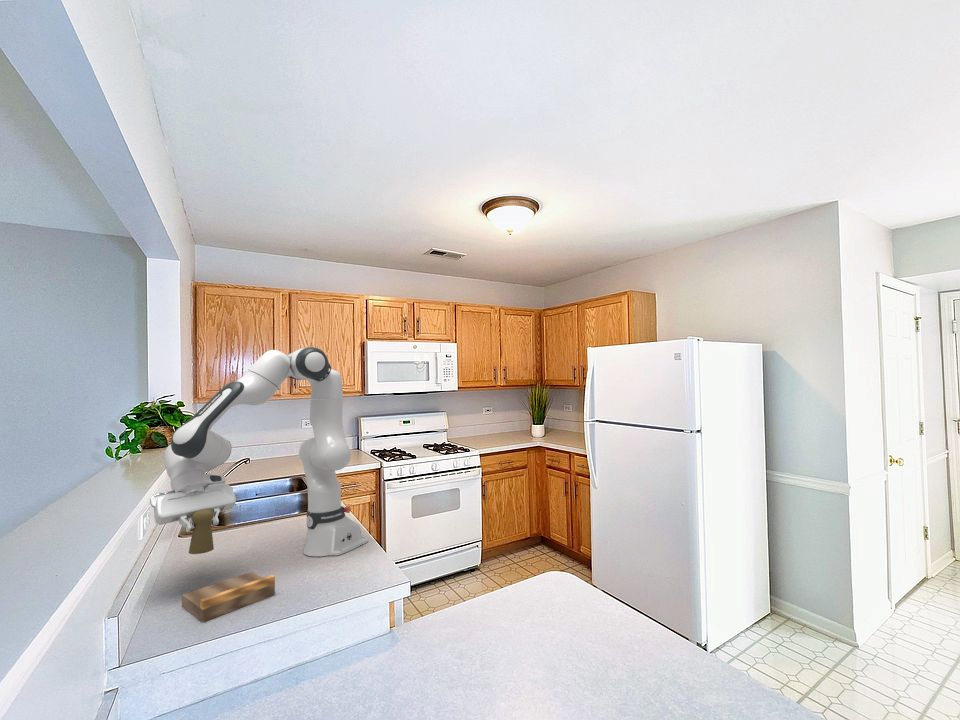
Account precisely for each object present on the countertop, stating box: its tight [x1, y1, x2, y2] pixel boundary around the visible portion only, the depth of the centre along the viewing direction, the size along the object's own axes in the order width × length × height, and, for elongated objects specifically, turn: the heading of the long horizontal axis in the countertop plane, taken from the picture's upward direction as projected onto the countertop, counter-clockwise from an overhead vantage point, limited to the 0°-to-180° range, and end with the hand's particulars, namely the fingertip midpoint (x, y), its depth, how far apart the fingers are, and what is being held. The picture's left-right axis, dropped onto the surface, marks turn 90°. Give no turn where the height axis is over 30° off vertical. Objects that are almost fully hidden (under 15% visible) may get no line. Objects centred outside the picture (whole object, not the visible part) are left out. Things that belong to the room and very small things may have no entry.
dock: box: [181, 571, 276, 623], centre depth 121 cm, size 18×14×5 cm
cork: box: [188, 510, 215, 555], centre depth 126 cm, size 6×6×11 cm
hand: (203, 527), depth 126 cm, fingers closed on cork, 5 cm apart
